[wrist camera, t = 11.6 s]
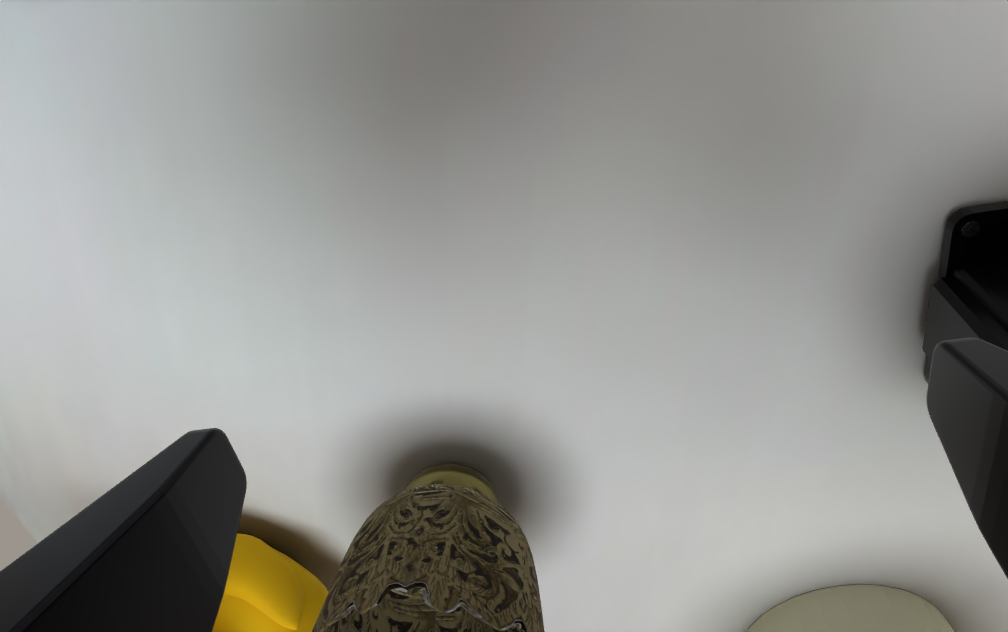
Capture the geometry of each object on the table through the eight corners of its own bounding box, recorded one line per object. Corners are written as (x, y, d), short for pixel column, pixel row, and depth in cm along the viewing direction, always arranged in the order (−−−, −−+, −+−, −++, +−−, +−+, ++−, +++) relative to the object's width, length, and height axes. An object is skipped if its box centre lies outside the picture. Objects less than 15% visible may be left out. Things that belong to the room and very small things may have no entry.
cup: (376, 557, 31) (329, 757, 24) (337, 422, 27) (267, 615, 20) (555, 551, 30) (558, 755, 23) (541, 412, 26) (540, 608, 19)
